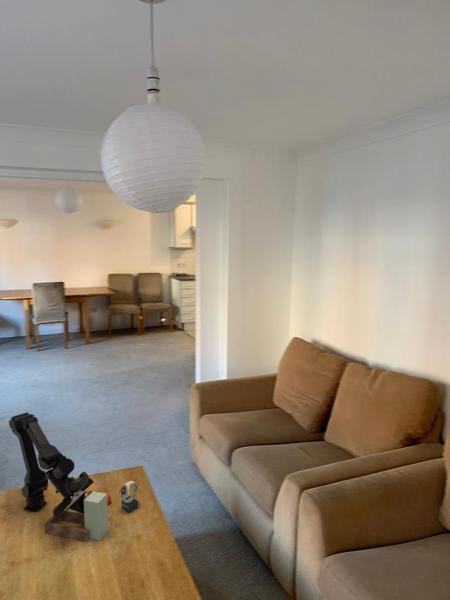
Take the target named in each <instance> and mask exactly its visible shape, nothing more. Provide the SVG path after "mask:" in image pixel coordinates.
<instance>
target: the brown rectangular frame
mask: <svg viewBox="0 0 450 600" xmlns="http://www.w3.org/2000/svg"><path fill="white" fill-rule="evenodd" d="M62 521H69V522H73V523H77V524H81V525H83V524H84V525H85V517H84V514H83V513H80V512H78V511H75V510H71V509H68V510H67V508H66V509H65V510H63V511H62V512H61V513H60V514H59V515H58V516H57V517H55V515H54V514H53V515H52V516H51V517H50V518H49V519H48V520H47V521H46V522H44V533H45V534H47V535H52V536H56V537H60V538H65V539H69V540H73V541H79V542H83V543H88V542H89V541H90V539H89V530H85V528H84V529H83V528H80V527H79V528H78V527H76V526H75V527H74V526H71V525H65V524H60V523H61V522H62Z"/></svg>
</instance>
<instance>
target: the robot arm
mask: <svg viewBox="0 0 450 600" xmlns="http://www.w3.org/2000/svg"><path fill="white" fill-rule="evenodd" d="M8 424H9V425H8V426H9V428H10V429H11V431H12V434H14V435H15V436H16V437H17V439H18V442H19V445H20V450H21V454H22V458H23V462H24V463H23V464H24V465H25V467H24V468H25V471H26V472H25V476H24V480H23V482H24V485H23V487H21V489H20V492H21V495H22V496H23V497H24V498H25V502H26V504H25V506H24V507H23V510H25V511H30V512H34V513H35V512H36V513H38V512H39V511H40V510H41V509H42V508H44V506H45V505H46V504H48V502H47V501H46V500H45V499H46V498H45V491H47V490H48V487H49V482H50V483H51V484H52V485H53V486H54V488H55V489H56V490H55V491H54V492H55V493H56V494H60V495H61V496H62V497H63V499H62V501H61V502H60V503H59V504H58V505H56V506H55V507H54V508H53V509H52V514H53V515H55V517H57V516H58V515H59V514H60V513H61V512H62V511H63V510H65V509H67V510H68V509H70V510H75V511H78V512H80V513H83V514H84V500H85V494H86V492H88V490H87V489H88V488H89V487H90V486H91V485H93V484H94V482H95V481H94V480H93V479H92V478H91V477H90V476H89V475H88V473H87V472H86V471H83V472H81V473H80V474H79V475H78V477H77V478H74V477H73V476H69V475H70V474H71V473H73V471H74V470H75V463H74V461H73V459H71V458H68V457H66V455H64V454H63V453H62V452H60V451H59V450H58V447H56V446H55V445H53V444H51V443H50V441H49V440H48V438H47V436H46V435H45V433H44V432H43V430H42V427H41V426H40V424H39V419H38V418H37V416H35V414H32V413H29V412H23V413H20V414H16V415H12V416H11V418H10V420H9V421H8ZM35 449H36V450H37V453H38V455H37V454H36V450H35Z"/></svg>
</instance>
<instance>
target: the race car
mask: <svg viewBox="0 0 450 600" xmlns="http://www.w3.org/2000/svg"><path fill="white" fill-rule="evenodd" d="M93 491H94V492H100V493H104V492H101V491H97V490H89V491H88V490H87V492H86V494H85V499H86V498H87V497H88V496H89V495H90V494H91V493H92V492H93ZM111 502H112V498H111V496H110V495H109V494H107V506H109V505H110V504H111Z"/></svg>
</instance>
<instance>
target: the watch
mask: <svg viewBox="0 0 450 600" xmlns="http://www.w3.org/2000/svg"><path fill="white" fill-rule="evenodd" d="M131 485H134V487H133V490H132V493H131V495H130V491H131V490H130V489H131ZM118 493H119V497H120V499H121V501H120V503H121V509H123V510H125V511H126V512H128V513H132V512H134V511H135V510H138V509H139V501H138V500H137V499H136V497H137V495H138V493H139V485H138V483H137V482H135V481H133V480H129V481H126V482H125V483H124V484H122V485H121V486H120V488H119V491H118Z"/></svg>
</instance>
